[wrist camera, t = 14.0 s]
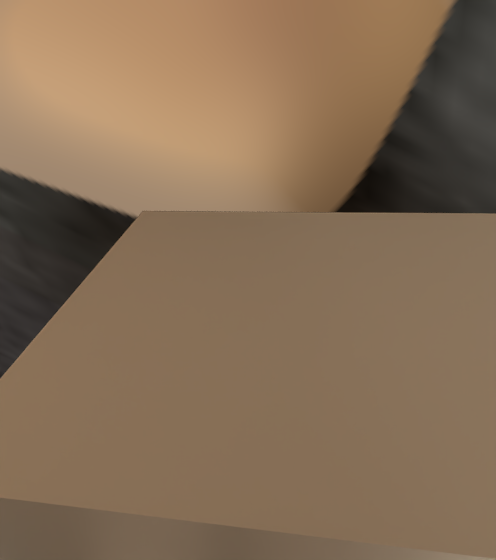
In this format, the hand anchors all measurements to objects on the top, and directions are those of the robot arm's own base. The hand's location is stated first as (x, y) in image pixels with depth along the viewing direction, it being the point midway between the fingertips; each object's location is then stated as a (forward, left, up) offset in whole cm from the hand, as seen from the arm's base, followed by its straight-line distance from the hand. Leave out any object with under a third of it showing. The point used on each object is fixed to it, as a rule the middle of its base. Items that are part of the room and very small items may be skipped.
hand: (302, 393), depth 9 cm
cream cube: (0, 0, -2) cm, 2 cm away
